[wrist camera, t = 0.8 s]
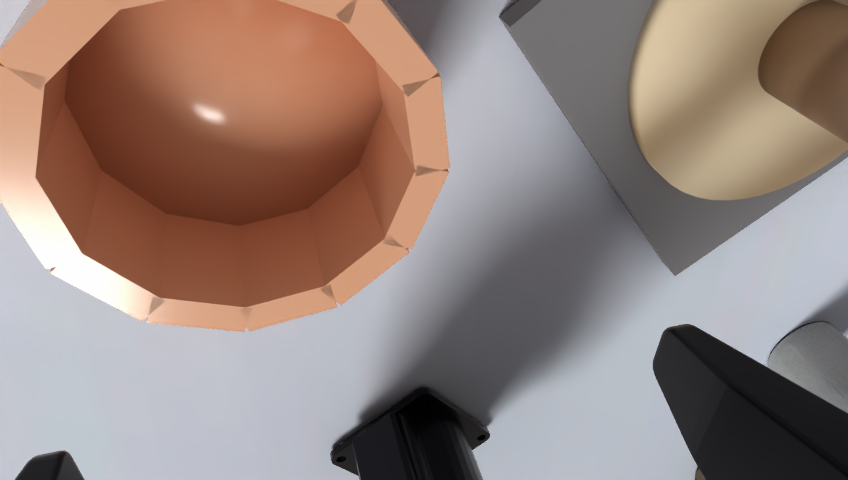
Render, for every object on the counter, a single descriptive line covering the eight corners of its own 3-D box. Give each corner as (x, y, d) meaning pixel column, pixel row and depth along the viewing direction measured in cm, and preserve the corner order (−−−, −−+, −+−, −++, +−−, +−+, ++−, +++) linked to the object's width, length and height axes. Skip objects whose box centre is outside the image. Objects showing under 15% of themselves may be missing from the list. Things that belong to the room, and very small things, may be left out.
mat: (975, 45, 28) (997, 54, 27) (663, 262, 31) (674, 276, 30) (956, -369, 18) (991, -374, 17) (498, 16, 21) (509, 26, 20)
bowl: (463, 96, 22) (517, 168, 19) (240, 279, 25) (248, 377, 21) (222, -206, 15) (229, -188, 12) (-56, 86, 18) (-126, 180, 14)
